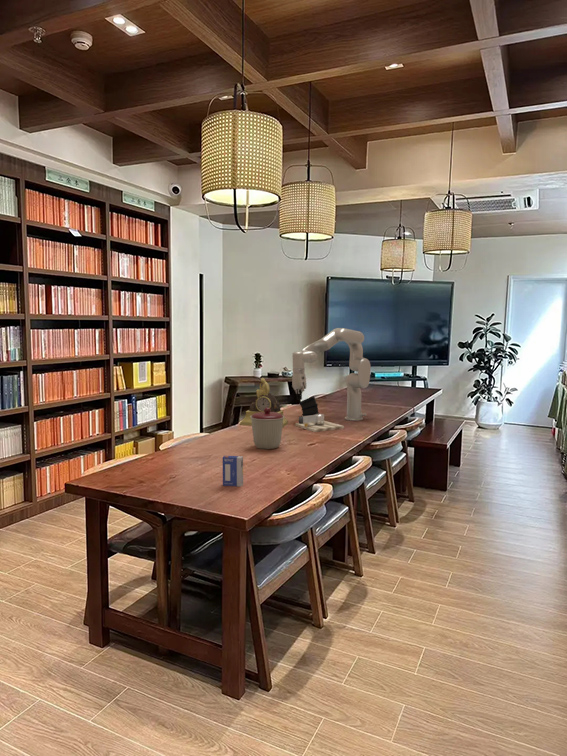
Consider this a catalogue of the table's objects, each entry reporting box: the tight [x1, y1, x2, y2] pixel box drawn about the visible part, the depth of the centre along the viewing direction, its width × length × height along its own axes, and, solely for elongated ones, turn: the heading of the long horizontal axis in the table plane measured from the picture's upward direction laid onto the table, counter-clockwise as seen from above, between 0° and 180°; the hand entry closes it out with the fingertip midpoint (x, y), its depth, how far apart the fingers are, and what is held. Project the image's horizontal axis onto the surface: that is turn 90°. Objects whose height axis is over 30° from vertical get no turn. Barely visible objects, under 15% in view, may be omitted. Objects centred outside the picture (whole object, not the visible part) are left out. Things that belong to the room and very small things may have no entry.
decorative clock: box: [239, 377, 289, 429], centre depth 334 cm, size 28×13×30 cm, turn 74°
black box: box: [299, 395, 320, 416], centre depth 361 cm, size 4×13×15 cm, turn 74°
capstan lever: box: [298, 413, 325, 425], centre depth 323 cm, size 19×6×6 cm, turn 127°
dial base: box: [294, 420, 345, 433], centre depth 328 cm, size 22×22×3 cm
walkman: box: [222, 455, 244, 488], centre depth 208 cm, size 8×3×12 cm, turn 81°
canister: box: [250, 408, 286, 450], centre depth 273 cm, size 18×18×21 cm
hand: (299, 399), depth 332 cm, fingers closed
